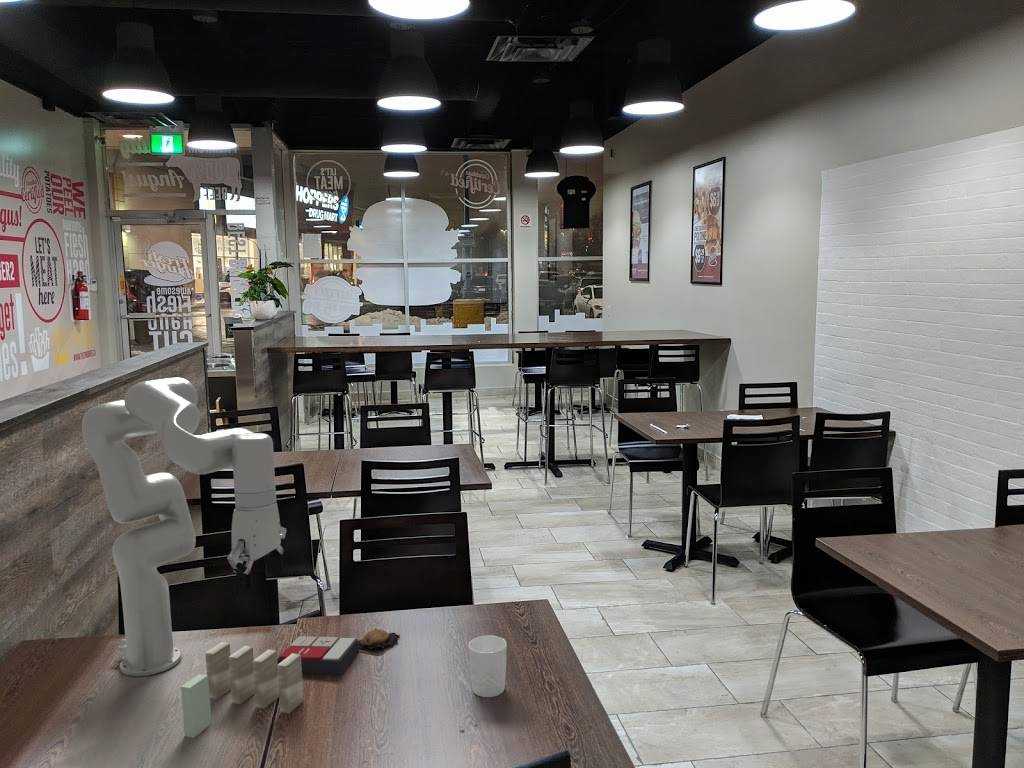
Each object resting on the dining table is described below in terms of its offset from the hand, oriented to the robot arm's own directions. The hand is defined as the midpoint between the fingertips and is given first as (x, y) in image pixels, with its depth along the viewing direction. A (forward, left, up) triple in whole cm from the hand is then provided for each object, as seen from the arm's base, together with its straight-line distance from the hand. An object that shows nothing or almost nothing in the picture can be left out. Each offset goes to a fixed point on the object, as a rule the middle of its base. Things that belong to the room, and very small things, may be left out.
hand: (260, 582), depth 152 cm
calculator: (-2, +21, -27) cm, 34 cm away
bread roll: (+7, +32, -27) cm, 43 cm away
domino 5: (+4, +3, -27) cm, 27 cm away
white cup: (+39, +21, -27) cm, 52 cm away
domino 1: (-9, -10, -27) cm, 30 cm away
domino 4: (-2, +3, -27) cm, 27 cm away
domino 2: (-14, +3, -27) cm, 30 cm away
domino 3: (-8, +3, -27) cm, 28 cm away
